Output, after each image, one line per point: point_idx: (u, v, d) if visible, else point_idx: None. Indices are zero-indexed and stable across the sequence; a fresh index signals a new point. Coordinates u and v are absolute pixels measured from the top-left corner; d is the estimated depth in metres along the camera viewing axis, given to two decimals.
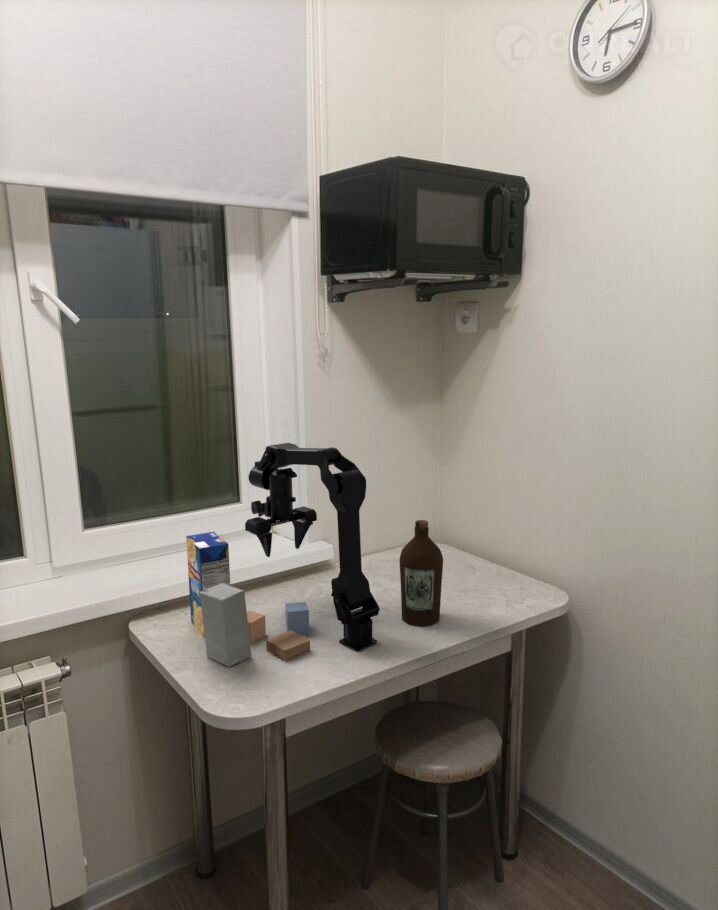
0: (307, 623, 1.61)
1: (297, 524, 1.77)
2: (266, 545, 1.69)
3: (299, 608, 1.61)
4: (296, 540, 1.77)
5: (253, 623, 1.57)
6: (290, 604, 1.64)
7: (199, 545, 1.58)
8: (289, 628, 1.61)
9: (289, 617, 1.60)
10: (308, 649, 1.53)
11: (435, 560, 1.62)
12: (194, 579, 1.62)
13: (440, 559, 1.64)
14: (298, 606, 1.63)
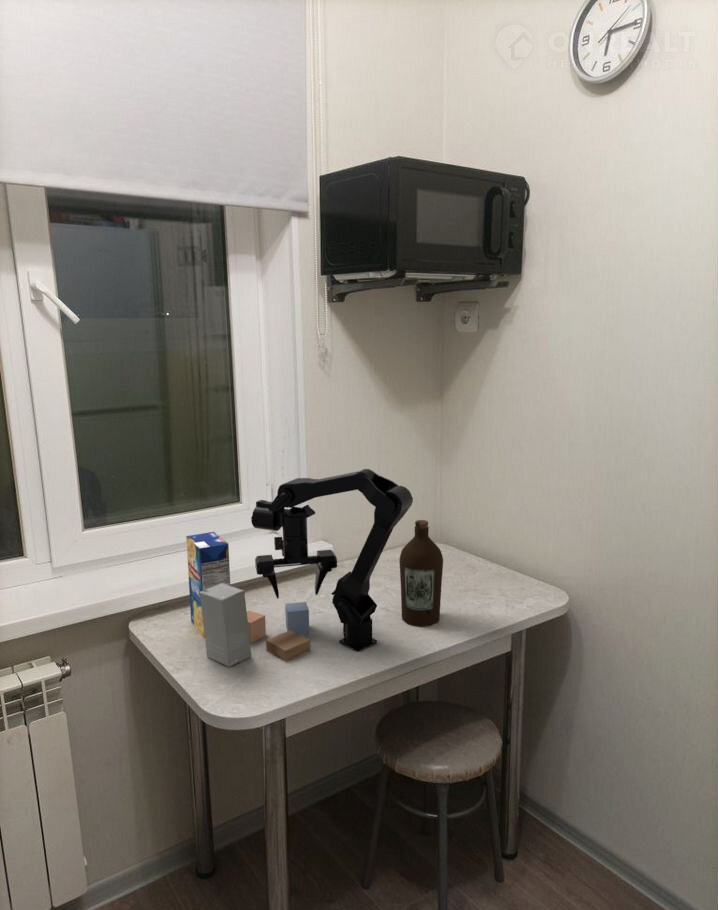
0: (307, 623, 1.61)
1: (317, 569, 1.62)
2: (272, 586, 1.59)
3: (299, 608, 1.61)
4: (315, 585, 1.63)
5: (253, 623, 1.57)
6: (290, 604, 1.64)
7: (199, 545, 1.58)
8: (289, 628, 1.61)
9: (289, 617, 1.60)
10: (308, 649, 1.53)
11: (435, 560, 1.62)
12: (194, 579, 1.62)
13: (440, 559, 1.64)
14: (298, 606, 1.63)
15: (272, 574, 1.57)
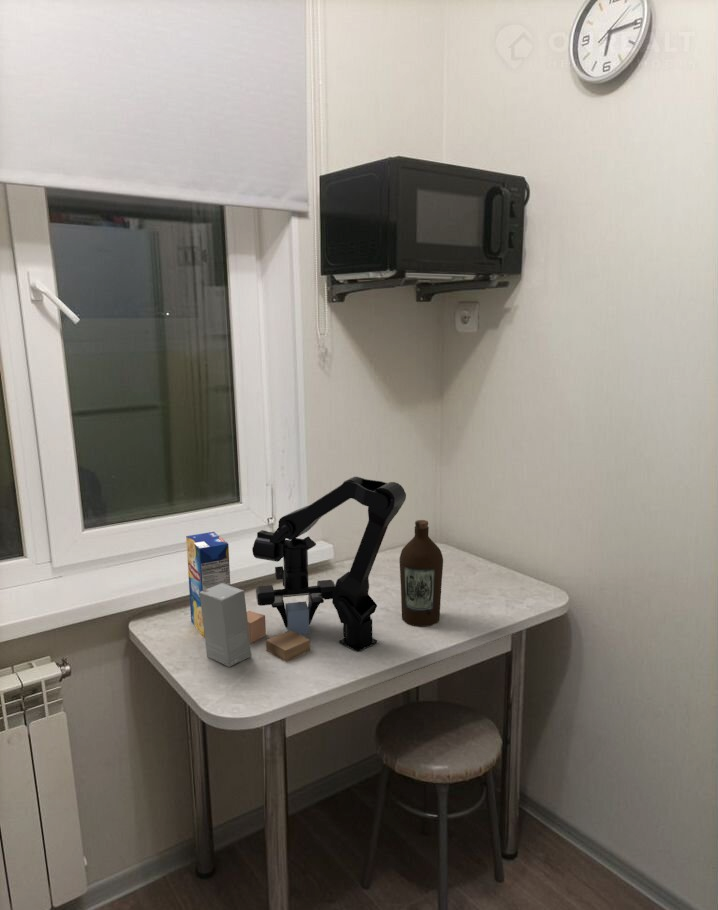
0: (307, 623, 1.61)
1: (309, 599, 1.63)
2: (281, 615, 1.61)
3: (299, 608, 1.61)
4: None
5: (253, 623, 1.57)
6: (290, 604, 1.64)
7: (199, 545, 1.58)
8: (289, 628, 1.61)
9: (289, 617, 1.60)
10: (308, 649, 1.53)
11: (435, 560, 1.62)
12: (194, 579, 1.62)
13: (440, 559, 1.64)
14: (298, 606, 1.63)
15: (281, 604, 1.59)
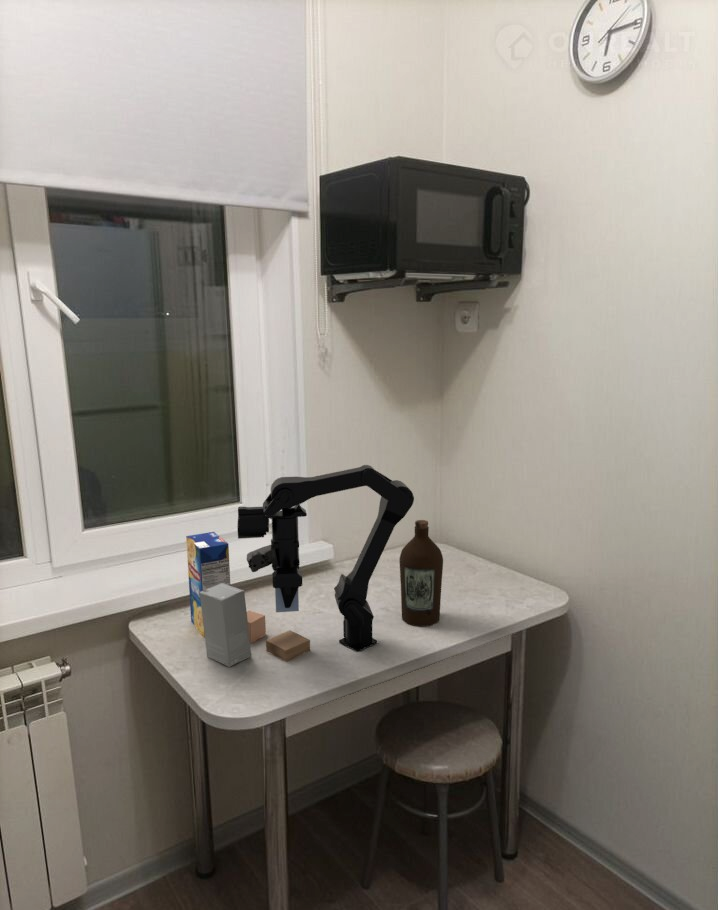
0: None
1: None
2: (293, 594, 1.48)
3: None
4: None
5: (253, 623, 1.57)
6: None
7: (199, 545, 1.58)
8: (298, 602, 1.50)
9: None
10: (308, 649, 1.53)
11: (435, 560, 1.62)
12: (194, 579, 1.62)
13: (440, 559, 1.64)
14: None
15: None
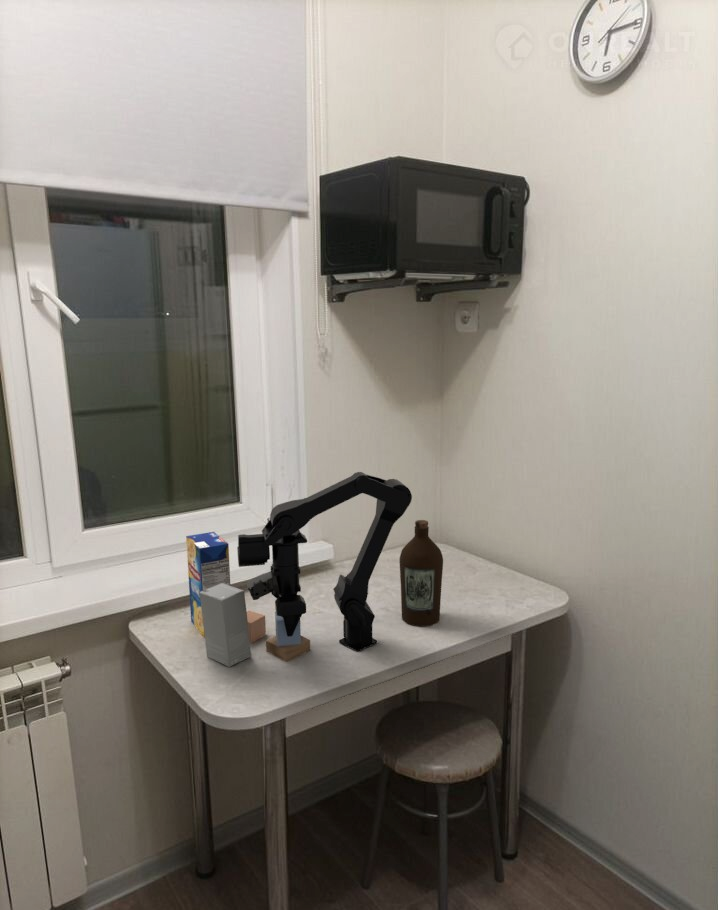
0: None
1: (284, 595, 1.55)
2: (296, 622, 1.47)
3: None
4: None
5: (253, 623, 1.57)
6: (280, 618, 1.50)
7: (199, 545, 1.58)
8: None
9: None
10: (308, 648, 1.53)
11: (435, 560, 1.62)
12: (194, 579, 1.62)
13: (440, 559, 1.64)
14: None
15: None
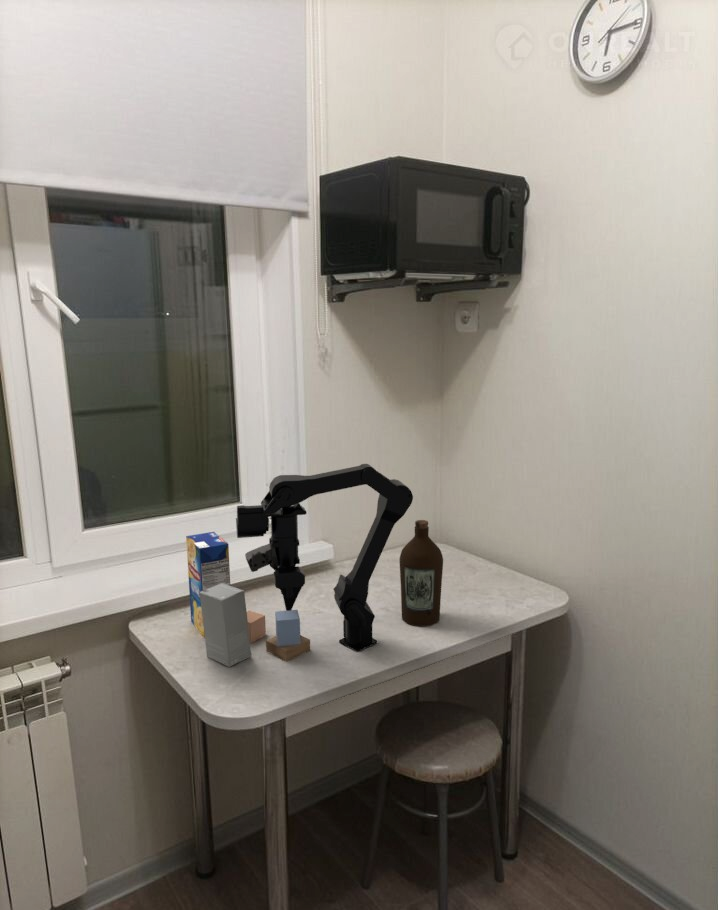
0: None
1: (282, 567, 1.55)
2: (295, 596, 1.45)
3: (293, 613, 1.52)
4: None
5: (253, 623, 1.57)
6: (280, 618, 1.50)
7: (199, 545, 1.58)
8: None
9: (299, 623, 1.50)
10: (308, 648, 1.53)
11: (435, 560, 1.62)
12: (194, 579, 1.62)
13: (440, 559, 1.64)
14: (287, 614, 1.52)
15: None
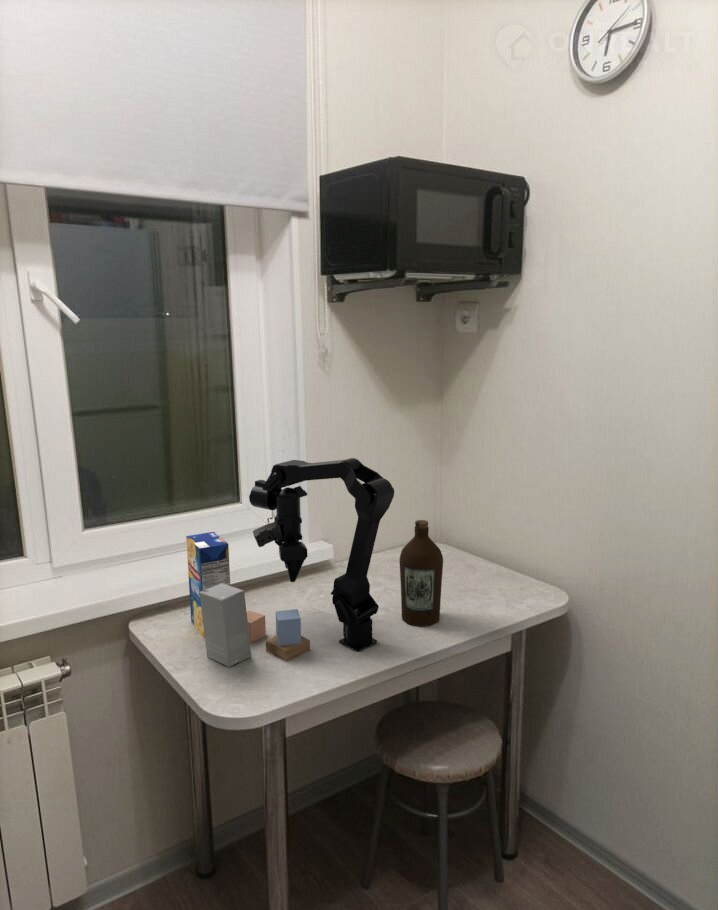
0: None
1: None
2: (298, 568, 1.60)
3: (293, 613, 1.53)
4: None
5: (253, 623, 1.57)
6: (280, 617, 1.50)
7: (199, 545, 1.58)
8: (300, 635, 1.51)
9: (300, 623, 1.51)
10: (308, 649, 1.53)
11: (435, 560, 1.62)
12: (194, 579, 1.62)
13: (440, 558, 1.64)
14: (288, 613, 1.52)
15: None
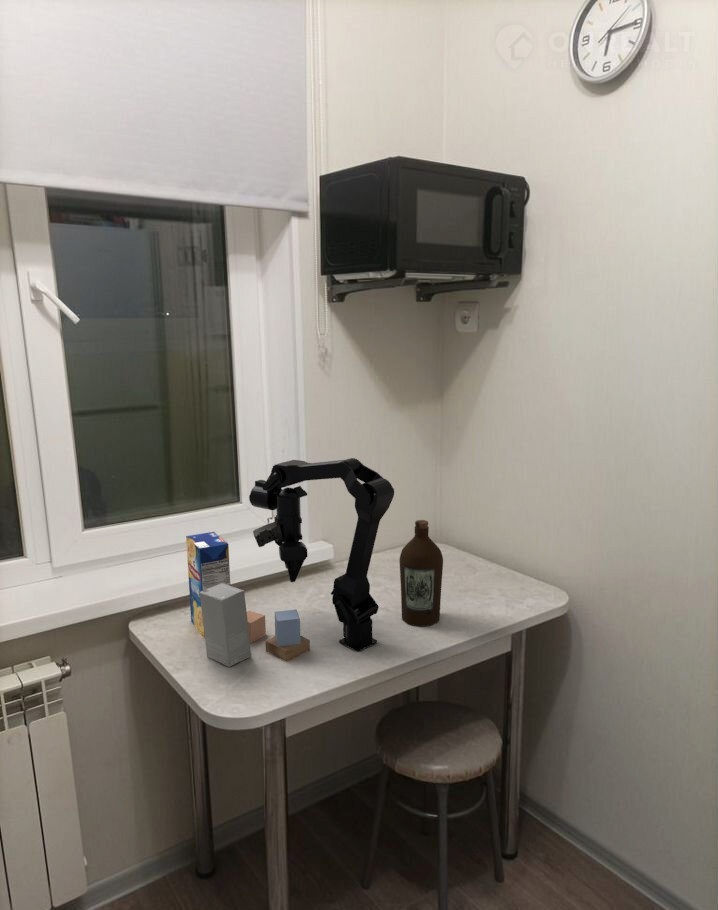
0: None
1: None
2: (298, 568, 1.60)
3: (293, 613, 1.52)
4: None
5: (253, 623, 1.57)
6: (280, 618, 1.50)
7: (199, 545, 1.58)
8: None
9: (299, 623, 1.51)
10: (308, 648, 1.53)
11: (435, 560, 1.62)
12: (194, 579, 1.62)
13: (440, 559, 1.64)
14: (287, 614, 1.52)
15: None
